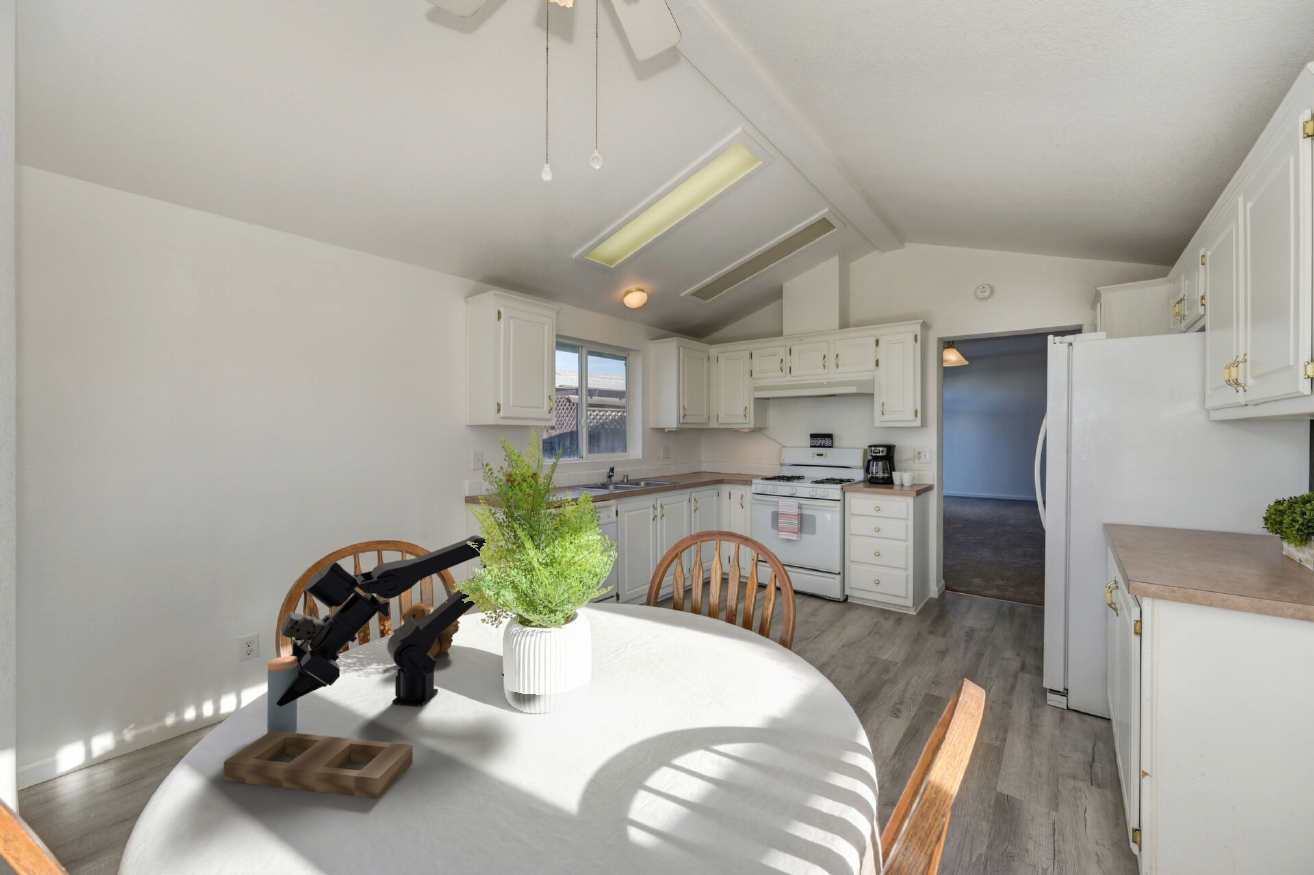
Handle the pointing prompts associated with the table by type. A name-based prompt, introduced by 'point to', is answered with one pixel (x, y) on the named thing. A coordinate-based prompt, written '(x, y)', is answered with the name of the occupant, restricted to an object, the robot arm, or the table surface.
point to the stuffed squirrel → (443, 639)
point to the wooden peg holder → (320, 763)
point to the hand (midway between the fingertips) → (276, 694)
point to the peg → (278, 681)
